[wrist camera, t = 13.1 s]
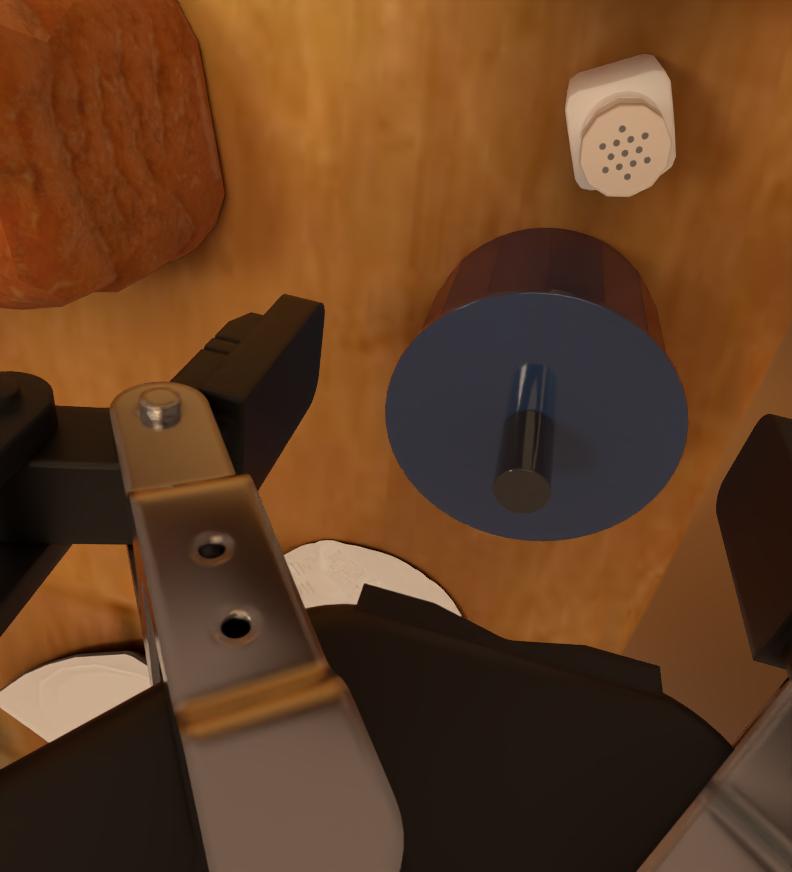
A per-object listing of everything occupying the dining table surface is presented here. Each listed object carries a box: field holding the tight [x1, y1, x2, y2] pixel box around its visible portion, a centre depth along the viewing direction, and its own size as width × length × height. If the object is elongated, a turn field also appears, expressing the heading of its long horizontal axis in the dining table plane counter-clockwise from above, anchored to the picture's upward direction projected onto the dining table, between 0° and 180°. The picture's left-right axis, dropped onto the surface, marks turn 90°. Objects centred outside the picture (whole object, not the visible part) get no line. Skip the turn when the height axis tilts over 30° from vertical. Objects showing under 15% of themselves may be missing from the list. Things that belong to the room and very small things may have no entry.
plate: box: [0, 651, 151, 743], centre depth 76 cm, size 29×29×3 cm
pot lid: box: [385, 288, 688, 541], centre depth 30 cm, size 14×14×6 cm
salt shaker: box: [565, 54, 676, 197], centre depth 28 cm, size 4×4×10 cm
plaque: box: [284, 540, 462, 617], centre depth 58 cm, size 20×20×2 cm
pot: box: [421, 228, 666, 351], centre depth 36 cm, size 13×13×10 cm
